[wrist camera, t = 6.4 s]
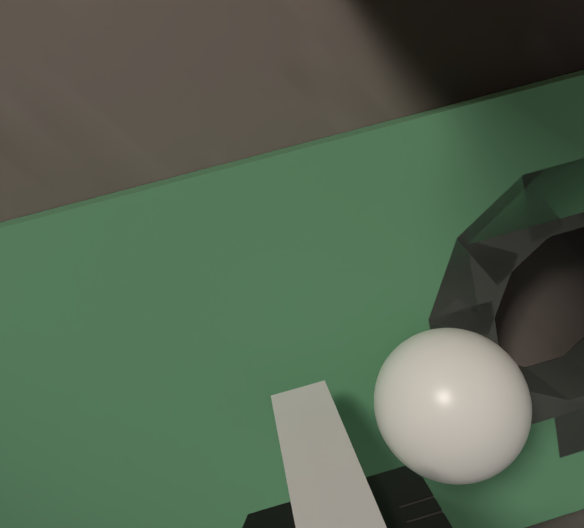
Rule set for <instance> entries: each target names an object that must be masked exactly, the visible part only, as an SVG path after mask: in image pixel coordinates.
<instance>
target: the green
mask: <svg viewBox="0 0 584 528" xmlns="http://www.w3.org/2000/svg"><path fill="white" fill-rule="evenodd" d="M582 227H584V70H581V71H577V72H574V73H570V74H566V75H562V76H558V77H555V78H551V79H547V80H543V81H539V82H535V83H532V84H528V85H524V86H520V87H516V88H512V89H509V90H505V91H501V92H497V93H493V94H490V95H486V96H482V97H478V98H474V99H470V100H467V101H463V102H459V103H455V104H451V105H448V106H444V107H440V108H436V109H432V110H428V111H425V112H421V113H417V114H413V115H409V116H405V117H402V118H398V119H394V120H390V121H386V122H383V123H379V124H375V125H371V126H367V127H363V128H360V129H356V130H352V131H348V132H344V133H341V134H337V135H333V136H329V137H325V138H321V139H318V140H314V141H310V142H306V143H302V144H298V145H295V146H291V147H287V148H283V149H279V150H276V151H272V152H268V153H264V154H260V155H256V156H253V157H249V158H245V159H241V160H237V161H234V162H230V163H226V164H222V165H218V166H214V167H211V168H207V169H203V170H199V171H195V172H191V173H188V174H184V175H180V176H176V177H172V178H169V179H165V180H161V181H157V182H153V183H149V184H146V185H142V186H138V187H134V188H130V189H126V190H123V191H119V192H115V193H111V194H107V195H104V196H100V197H96V198H92V199H88V200H84V201H81V202H77V203H73V204H69V205H65V206H62V207H58V208H54V209H50V210H46V211H42V212H39V213H35V214H31V215H27V216H23V217H19V218H16V219H12V220H8V221H4V222H0V528H242V527H243V525H244V522H245V520H246V518H247V515H248V514H250V513H254V512H257V511H260V510H264V509H267V508H270V507H274V506H277V505H280V504H284V503H287V502H291V501H290V496H289V490H288V485H287V480H286V474H285V469H284V464H283V459H282V453H281V448H280V443H279V437H278V432H277V427H276V421H275V416H274V411H273V406H272V400H271V395H275V394H278V393H282V392H285V391H289V390H292V389H296V388H299V387H303V386H307V385H310V384H314V383H317V382H321V381H324V380H325V382H326V385H327V387H328V389H329V392H330V394H331V397H332V399H333V401H334V404H335V406H336V408H337V411H338V413H339V416H340V418H341V420H342V423H343V425H344V427H345V430H346V432H347V435H348V437H349V439H350V442H351V444H352V446H353V449H354V451H355V453H356V456H357V458H358V461H359V463H360V465H361V468H362V470H363V472H364V475H365V477H369V476H372V475H375V474H379V473H382V472H386V471H389V470H392V469H396V468H399V467H402V466H406V465H404V464H403V463H402V462H401V461H400V460H399V459H398V458H397V457H396V456H395V455H394V454H393V453H392V451H391V450H390V448H389V447H388V445H387V444H386V442H385V441H384V439H383V437H382V435H381V433H380V430H379V428H378V425H377V421H376V417H375V412H374V390H375V384H376V380H377V377H378V374H379V371H380V369H381V367H382V365H383V363H384V362H385V360H386V359H387V357H388V356H389V355H390V353H391V352H392V351H393V350H394V349H395V348H396V347H397V346H399V345H400V344H401V343H402V342H403V341H405V340H407V339H408V338H410V337H411V336H413V335H416V334H418V333H420V332H423V331H427V330H431V329H437V328H458V329H463V330H469V331H472V332H475V333H478V334H480V335H482V336H484V337H486V338H488V339H490V340H491V341H493V342H494V343H496V344H497V345H499V344H498V337H497V331H496V325H495V315H496V313H497V310H498V307H499V305H500V302H501V299H502V297H503V294H504V291H505V289H506V286H507V283H508V281H509V278H510V275H511V272H512V271H513V270H514V269H515V268H516V267H518V266H519V265H520V264H521V263H522V262H523V261H524V260H525V259H526V258H527V257H528V256H529V255H530V254H531V253H532V252H533V251H535V250H536V249H537V248H538V247H539V246H540V245H541V244H542V243H543V242H544V241H545V240H546V239H547V238H548V237H550V236H554V235H557V234H561V233H564V232H568V231H572V230H575V229H579V228H582ZM518 367H519V369H520V370H521V372H522V374H523V376H524V378H525V380H526V383H527V385H528V388H529V392H530V396H531V402H532V421H531V427H530V431H529V435H528V438H527V441H526V443H525V445H524V447H523V448H522V450H521V452H520V453H519V455H518V456H517V457H516V459H515V460H514V461H513V462H512V463H511V464H510V465H509V466H508V467H507V468H505V469H504V470H503V471H502V472H500V473H498V474H497V475H495V476H493V477H491V478H489V479H486V480H483V481H481V482H477V483H472V484H461V485H453V484H444V483H440V482H437V481H433V480H430V479H428V478H425V477H423V476H421V475H420V476H421V477H423V478H424V480H425V482H426V483H427V485H428V487H429V489H430V490H431V492H432V494H433V496H434V498H435V499H436V500H437V502H438V504H439V505H440V507H441V509H442V512H443V513H444V514H445V516H446V517H447V519H448V521H449V522H450V524H451V526H452V528H525V527H528V526H531V525H535V524H538V523H541V522H544V521H547V520H550V519H553V518H556V517H560V516H563V515H566V514H569V513H572V512H575V511H578V510H581V509H584V338H583V339H582V340H581V341H580V342H579V343H577V344H576V345H575V346H574V347H573V348H572V349H571V350H570V351H569V352H568V353H567V354H565V355H564V356H563V357H559V358H556V359H553V360H549V361H546V362H543V363H539V364H536V365H533V366H529V367H522V366H518ZM415 473H416V472H415ZM418 475H419V474H418Z"/></svg>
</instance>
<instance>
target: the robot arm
mask: <svg viewBox="0 0 584 528" xmlns="http://www.w3.org/2000/svg"><path fill="white" fill-rule="evenodd" d="M271 400H272V406H273V411H274V416H275V421H276V427H277V432H278V437H279V443H280V448H281V453H282V459H283V464H284V469H285V474H286V480H287V485H288V490H289V496H290V501H291V502H287V503H284V504H280V505H277V506H274V507H270V508H267V509H264V510H260V511H257V512H254V513H250V514H248V515H247V518H246V520H245V522H244V525H243V527H242V528H452V526H451V524H450V522H449V521H448V519H447V517H446V516H445V514H444V513H443V512H442V509H441V507H440V505H439V504H438V502H437V500H436V499H435V498H434V496H433V494H432V492H431V490H430V489H429V487H428V485H427V483H426V482H425V480H424V478H423V477H421V476H420V475H418V474H417V473H415V472H414V471H412V470H411V469H410V468H408V467H407V466H402V467H399V468H396V469H392V470H389V471H386V472H382V473H379V474H375V475H372V476H369V477H365V475H364V472H363V470H362V468H361V465H360V463H359V461H358V458H357V456H356V453H355V451H354V449H353V446H352V444H351V442H350V439H349V437H348V435H347V432H346V430H345V427H344V425H343V423H342V420H341V418H340V416H339V413H338V411H337V408H336V406H335V404H334V401H333V399H332V397H331V394H330V392H329V389H328V387H327V385H326V382H325V380H324V381H321V382H317V383H314V384H310V385H307V386H303V387H299V388H296V389H292V390H289V391H285V392H282V393H278V394H275V395H271Z"/></svg>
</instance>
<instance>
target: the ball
mask: <svg viewBox="0 0 584 528" xmlns="http://www.w3.org/2000/svg"><path fill="white" fill-rule="evenodd" d="M374 412H375V417H376V421H377V425H378V428H379V430H380V433H381V435H382V437H383V439H384V441H385V442H386V444H387V445H388V447H389V448H390V450H391V451H392V453H393V454H394V455H395V456H396V457H397V458H398V459H399V460H400V461H401V462H402V463H403V464H404V465H406V466H407V467H408V468H410V469H411V470H412V471H414V472H416V473H417V474H419V475H421V476H423V477H425V478H428V479H430V480H433V481H437V482H440V483H444V484H453V485H461V484H472V483H477V482H481V481H483V480H486V479H489V478H491V477H493V476H495V475H497V474H498V473H500V472H502V471H503V470H504V469H505V468H507V467H508V466H509V465H510V464H511V463H512V462H513V461H514V460H515V459H516V457H517V456H518V455H519V453H520V452H521V450H522V448H523V447H524V445H525V443H526V441H527V438H528V435H529V431H530V427H531V421H532V402H531V396H530V392H529V388H528V385H527V383H526V380H525V378H524V376H523V374H522V372H521V370H520V369H519V367H518V366H517V364H516V363H515V361H514V360H513V359H512V358H511V357H510V356H509V354H508V353H507V352H505V351H504V350H503V349H502V348H501V347H500V346H499V345H497V344H496V343H494V342H493V341H491V340H490V339H488V338H486V337H484V336H482V335H480V334H478V333H475V332H472V331H469V330H463V329H458V328H437V329H431V330H427V331H423V332H420V333H418V334H416V335H413V336H411V337H410V338H408V339H407V340H405V341H403V342H402V343H401V344H400V345H399V346H397V347H396V348H395V349H394V350H393V351H392V352H391V353H390V355H389V356H388V357H387V359H386V360H385V362H384V363H383V365H382V367H381V369H380V371H379V374H378V377H377V380H376V384H375V390H374Z"/></svg>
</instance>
